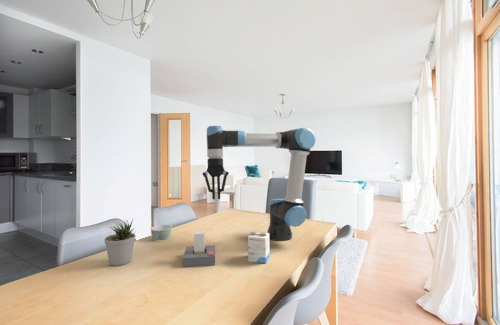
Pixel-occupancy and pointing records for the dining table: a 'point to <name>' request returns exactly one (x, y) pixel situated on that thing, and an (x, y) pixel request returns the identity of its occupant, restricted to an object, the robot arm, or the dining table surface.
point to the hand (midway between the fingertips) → (216, 205)
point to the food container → (161, 232)
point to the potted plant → (120, 245)
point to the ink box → (258, 247)
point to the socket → (199, 257)
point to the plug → (199, 242)
